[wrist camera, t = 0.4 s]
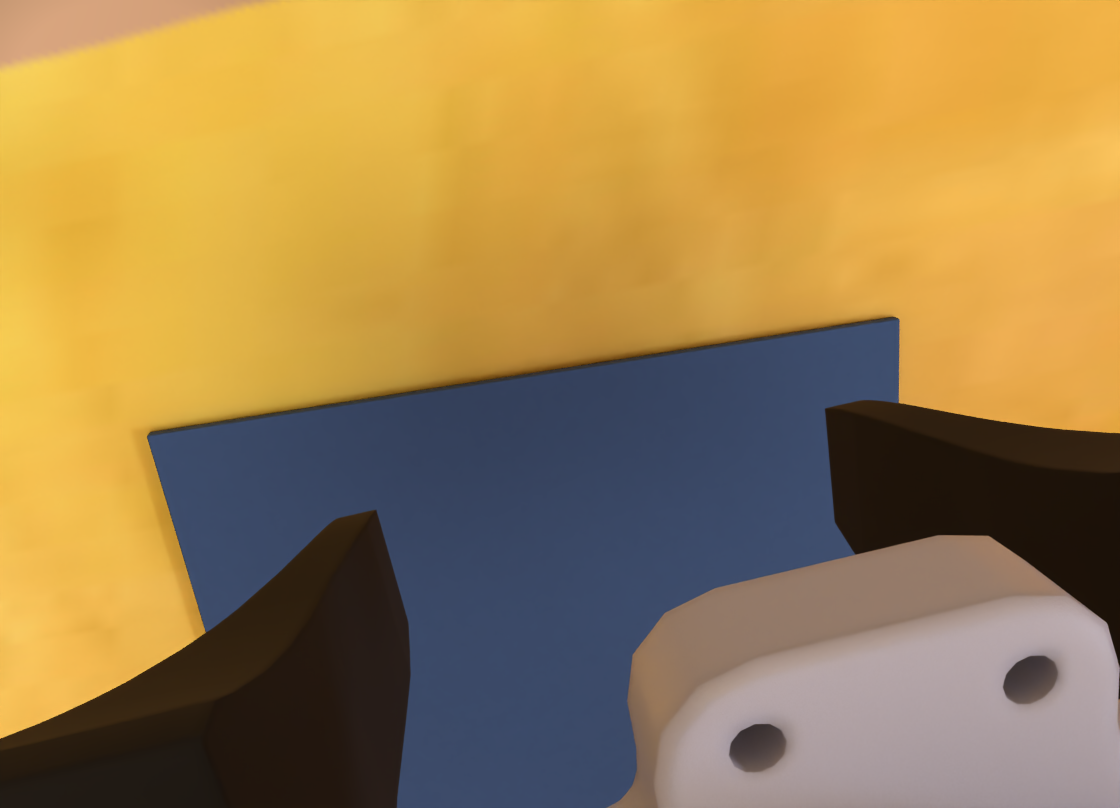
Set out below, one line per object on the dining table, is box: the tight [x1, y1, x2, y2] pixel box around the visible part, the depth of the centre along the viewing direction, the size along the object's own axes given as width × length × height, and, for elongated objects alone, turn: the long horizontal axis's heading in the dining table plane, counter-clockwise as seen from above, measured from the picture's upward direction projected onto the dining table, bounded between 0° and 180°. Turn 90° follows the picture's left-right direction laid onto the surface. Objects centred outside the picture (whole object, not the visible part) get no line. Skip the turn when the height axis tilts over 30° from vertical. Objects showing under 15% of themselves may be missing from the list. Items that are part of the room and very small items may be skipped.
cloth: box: [147, 317, 899, 808], centre depth 25 cm, size 16×20×1 cm
